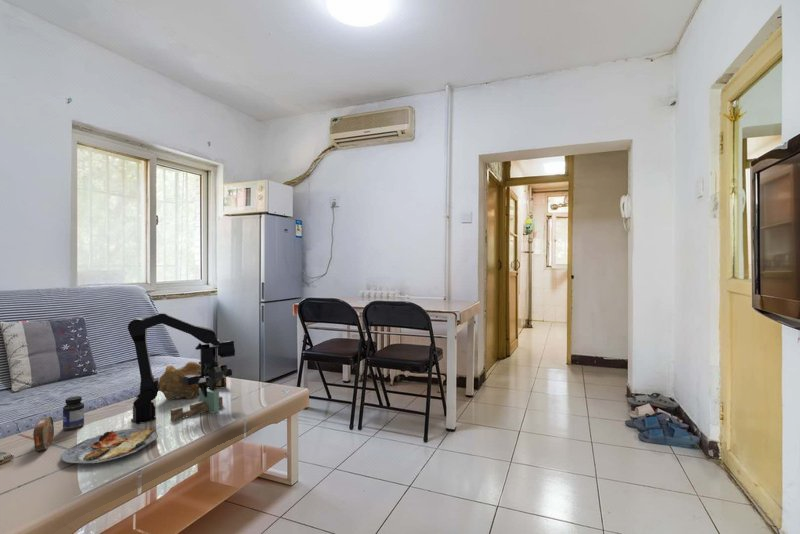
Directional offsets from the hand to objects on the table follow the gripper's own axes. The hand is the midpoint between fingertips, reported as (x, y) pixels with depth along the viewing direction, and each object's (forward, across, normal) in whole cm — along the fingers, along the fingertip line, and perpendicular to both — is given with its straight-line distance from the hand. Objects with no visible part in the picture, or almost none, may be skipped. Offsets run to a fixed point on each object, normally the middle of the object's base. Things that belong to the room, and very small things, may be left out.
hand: (208, 396), depth 163 cm
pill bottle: (+6, -38, +24) cm, 46 cm away
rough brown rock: (+6, +5, +28) cm, 29 cm away
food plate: (+6, -37, -11) cm, 39 cm away
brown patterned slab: (+6, -49, +12) cm, 51 cm away
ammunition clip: (+6, +20, +30) cm, 36 cm away
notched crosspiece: (+5, 0, 0) cm, 5 cm away
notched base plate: (+5, -4, 0) cm, 7 cm away
